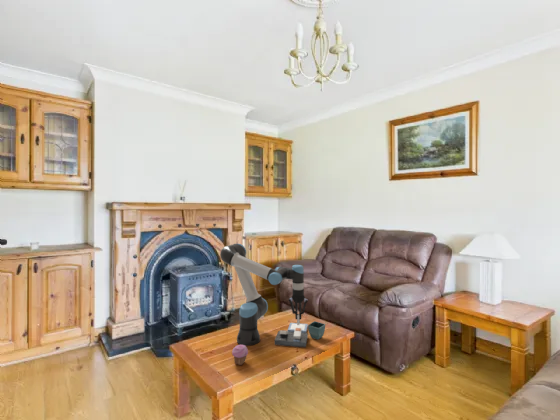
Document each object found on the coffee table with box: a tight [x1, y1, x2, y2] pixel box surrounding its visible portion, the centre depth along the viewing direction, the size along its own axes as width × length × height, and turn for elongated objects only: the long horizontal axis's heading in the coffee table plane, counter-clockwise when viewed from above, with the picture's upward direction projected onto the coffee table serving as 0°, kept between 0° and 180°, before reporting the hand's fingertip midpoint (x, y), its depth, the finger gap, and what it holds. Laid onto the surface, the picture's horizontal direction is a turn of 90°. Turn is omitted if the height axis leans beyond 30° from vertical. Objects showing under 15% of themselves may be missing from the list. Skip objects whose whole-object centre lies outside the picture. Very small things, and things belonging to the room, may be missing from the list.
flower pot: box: [307, 321, 326, 341], centre depth 205 cm, size 9×9×9 cm
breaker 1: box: [279, 329, 288, 334], centre depth 200 cm, size 4×8×2 cm, turn 170°
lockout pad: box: [287, 322, 309, 333], centre depth 219 cm, size 13×13×2 cm
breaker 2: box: [294, 328, 302, 339], centre depth 199 cm, size 4×8×2 cm, turn 170°
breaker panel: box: [274, 330, 309, 348], centre depth 200 cm, size 20×14×4 cm
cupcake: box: [231, 344, 249, 366], centre depth 172 cm, size 9×9×10 cm
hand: (298, 324), depth 202 cm, fingers closed
